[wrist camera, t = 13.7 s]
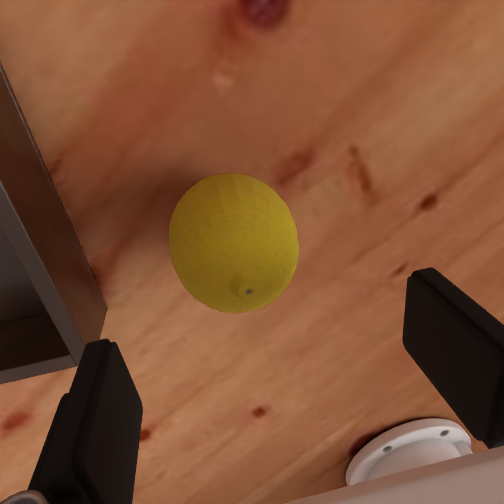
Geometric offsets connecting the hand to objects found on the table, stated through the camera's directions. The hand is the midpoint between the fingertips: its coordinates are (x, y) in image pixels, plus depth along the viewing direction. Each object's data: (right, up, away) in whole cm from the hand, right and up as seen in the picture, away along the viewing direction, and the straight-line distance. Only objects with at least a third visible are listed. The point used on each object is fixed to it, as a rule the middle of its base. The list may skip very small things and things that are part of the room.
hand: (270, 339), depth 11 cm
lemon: (-2, +5, +8) cm, 10 cm away
